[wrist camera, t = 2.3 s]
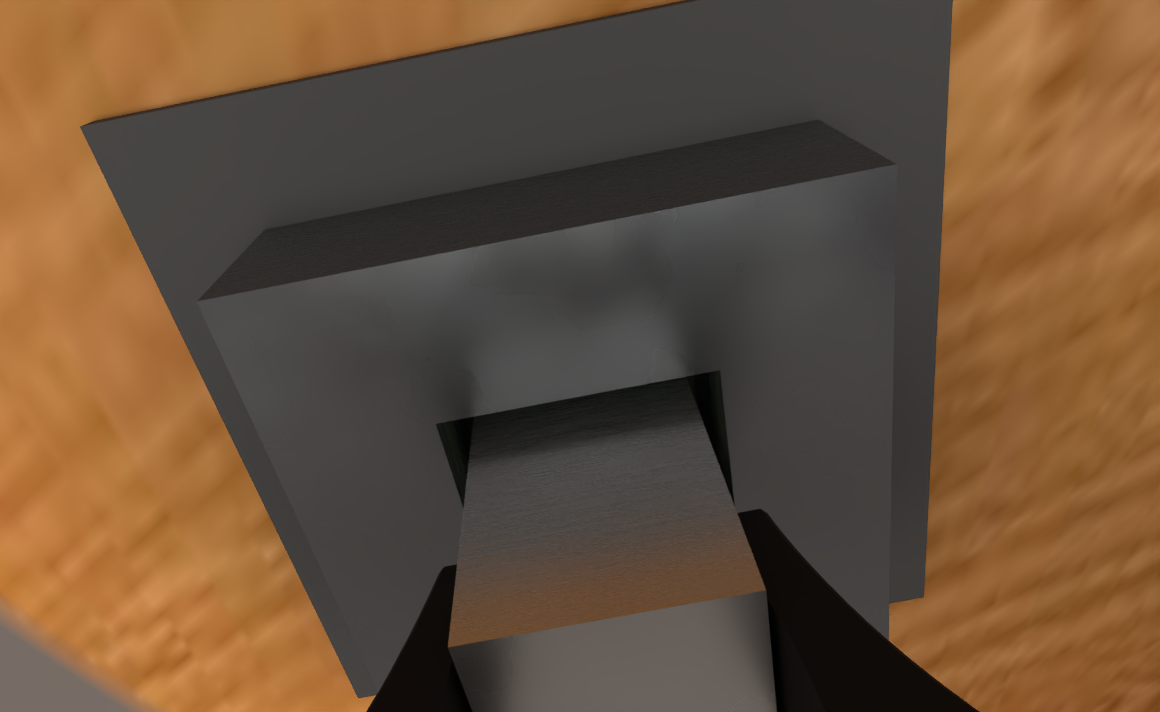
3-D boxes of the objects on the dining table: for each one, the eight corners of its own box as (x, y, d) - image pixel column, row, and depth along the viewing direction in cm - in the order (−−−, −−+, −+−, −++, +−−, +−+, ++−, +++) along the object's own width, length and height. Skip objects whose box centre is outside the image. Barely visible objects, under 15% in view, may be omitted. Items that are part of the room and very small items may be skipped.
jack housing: (832, 556, 20) (887, 667, 17) (424, 630, 20) (406, 752, 17) (818, 119, 15) (896, 164, 12) (264, 229, 15) (196, 301, 12)
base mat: (915, 583, 21) (923, 596, 21) (361, 683, 22) (358, 698, 21) (941, -52, 14) (955, -52, 13) (93, 121, 14) (79, 126, 14)
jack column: (693, 474, 18) (794, 788, 11) (516, 507, 18) (510, 837, 11) (670, 313, 16) (777, 579, 9) (471, 351, 16) (433, 641, 9)
